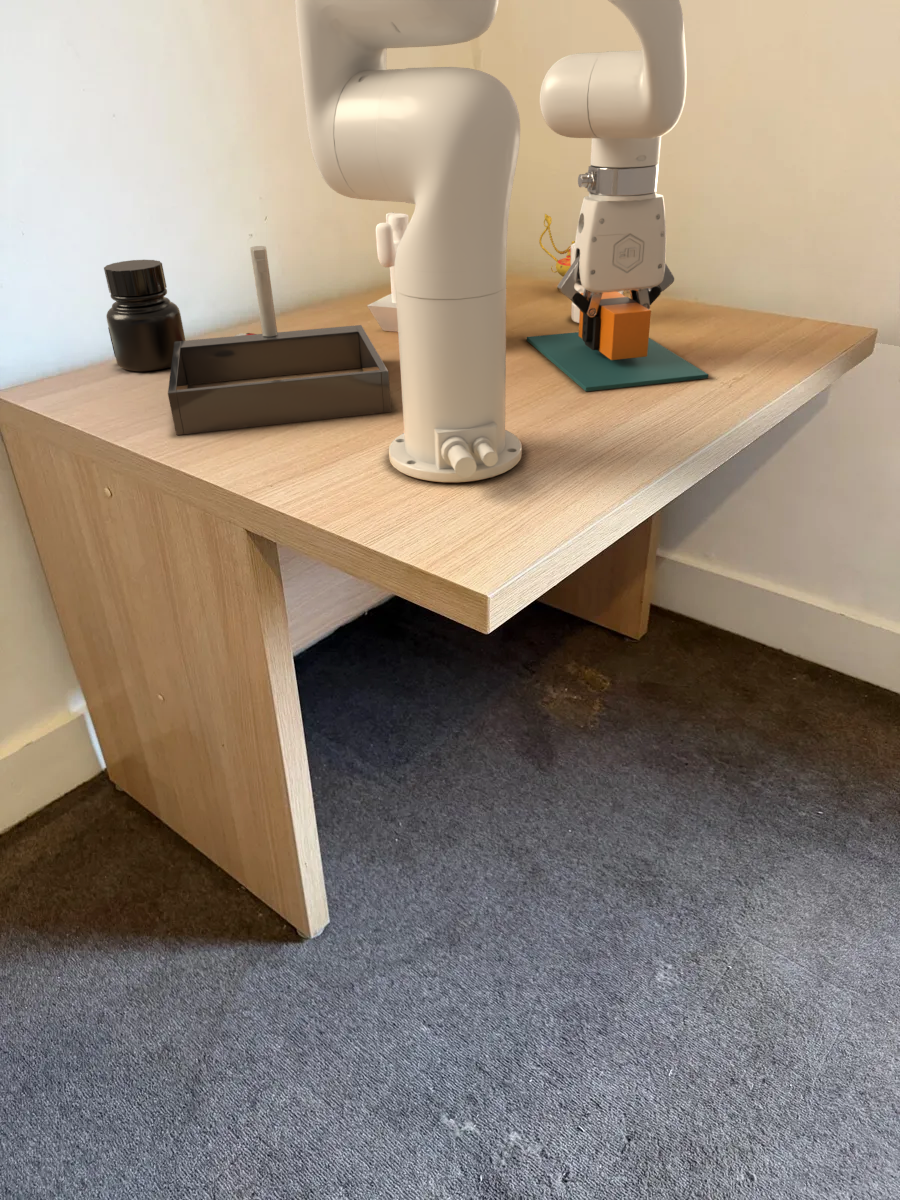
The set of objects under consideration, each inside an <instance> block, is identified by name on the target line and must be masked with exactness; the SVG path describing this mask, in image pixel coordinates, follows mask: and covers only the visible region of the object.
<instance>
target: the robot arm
mask: <svg viewBox="0 0 900 1200" xmlns="http://www.w3.org/2000/svg"><path fill="white" fill-rule="evenodd" d="M607 1H608V2H609V3H611V4H612V5H613V6H614V7H616V8H617V9H618V11H620V12H621V13H622V15H623V16H624V17H625V18H626V19H627V20H628V22H629V23H630V25H631V26H632V29H633V30H634V33H635V34H636V36H637V39H638V41H639V43H640V49H641V50H639V49H638V50H615V51H614V50H613V51H612V50H611V51H603V52H602V51H601V52H580V53H579V52H578V53H572V54H568V55H565V56H563V57H562V58H559V59H558V60H556V61H555V62H554V63H553V64H552V65H551V67H549V69H547V71H546V73H545V75H544V78H543V80H542V82H541V86H540V90H539V107H540V112H541V115H542V118H543V120H544V122H545V124H546V125H547V127H548V128H549V129H550V130H552V131H553V132H554V133H555V134H557V135H559V136H561V137H566V138H573V139H591V147H590V165H589V166H588V171H587V172H585V173H580V174H578V177H577V185H578V187H579V188H585V189H586V190H587V191H586V192H588V195H586V196H584V197H583V199H582V203H581V206H580V211H579V215H578V220H577V225H576V232H575V240H574V241H575V247H574V257H573V264H572V265H571V267H570V268H569V270H568V271H567V272H566V274H565V275H564V277H563V276H562V278H561V280H560V281H559V283H558V284H557V286H556V287H557V288H556V289H557V291H558V292H559V293H561V294H562V295H563V296H564V297H566V298H568V299H569V300H570V301H571V303H572V302H573V303H574V304H575V305H576V306H577V307H578V308H579V309H580V311H581V312H583V326H582V339H583V341H584V342H585V345H586V346H588V347H589V348H590V349H592V350H597V349H599V341H600V325H601V318H600V317H599V316H597V313H598V307H599V304H600V300H601V297H602V294H603V293H604V292H616V291H623V292H625V291H626V292H627V291H629V295H630V299H632V300H634V301H636V302H637V303H639V304H640V305H642V306H644V307H646V308H647V309H649V310H651V306H652V304H653V303H654V302H655V301H656V300H657V299H658V298H659V297H660V295H661V293H662V292H664V291H665V290H666V289H668V288H669V287H670V286H671V285H672V284H673V283H674V282H675V276H674V275H673V273H672V271H671V270H670V268H669V266H668V265H667V263H666V259H667V258H666V253H667V225H666V224H667V221H666V207H665V199H664V195H663V194H659V193H657V189H658V179H659V178H658V177H659V167H660V157H661V146H662V145H661V144H662V137H663V136H665V135H667V134H669V133H670V132H671V131H672V130H673V129H674V127H675V126H676V125H677V124H678V122H679V121H680V118H681V116H682V114H683V110H684V107H685V104H686V95H687V81H688V80H687V77H688V75H687V74H688V73H687V71H688V70H687V69H688V68H687V52H686V36H685V32H686V31H685V21H684V14H683V7H682V4H681V1H680V0H607ZM499 2H500V0H294V9H295V10H294V11H295V19H296V31H297V40H298V41H297V42H298V49H299V59H300V60H299V61H300V70H301V71H300V72H301V79H302V89H303V90H302V92H303V99H304V111H305V119H306V126H307V127H306V129H307V133H308V134H307V135H308V140H309V141H308V142H309V145H310V150H311V154H312V158H313V160H314V164H315V166H316V169H317V171H318V173H319V174H320V176H321V178H322V179H323V181H324V183H325V184H326V185H327V186H329V188H330V189H331V190H333V191H334V192H336V193H337V194H339V195H341V196H344V197H346V198H350V199H357V200H365V201H375V202H376V201H378V202H395V203H405V204H411V205H412V204H413V205H415V206H414V211H413V214H412V215H411V217H410V218H411V219H409V221H408V226H407V228H406V230H405V232H404V234H403V236H402V239H401V241H400V243H399V246H398V249H397V253H396V258H395V290H396V304H397V321H398V332H397V335H398V350H399V351H398V352H399V353H398V355H399V367H400V368H399V369H400V370H399V371H400V387H401V402H402V403H401V404H402V419H403V432H402V433H401V434H400V435H398V436H396V437H395V438H394V439H393V440H392V441H391V443H390V444H389V446H388V459H389V462H390V464H391V466H392V467H393V468H394V469H396V470H397V471H398V472H400V473H401V474H404V475H406V476H409V477H412V478H415V479H418V480H423V481H429V482H437V483H466V482H475V481H481V480H486V479H489V478H494V477H496V476H499V475H502V474H504V473H506V472H508V471H510V470H512V469H513V468H514V467H515V466H517V465H518V464H519V462H520V461H521V459H522V455H523V446H522V442H521V439H520V438H519V437H517V436H516V434H514V433H513V432H510V431H509V430H507V429H506V411H507V410H506V409H507V408H506V407H507V406H506V404H507V403H506V399H507V398H506V397H507V396H506V395H507V394H506V393H507V386H506V385H507V384H506V383H507V250H508V231H509V229H508V228H509V217H510V207H511V199H512V192H513V185H514V181H515V175H516V169H517V163H518V158H519V151H520V144H521V143H520V142H521V120H520V119H521V118H520V113H519V109H518V105H517V103H516V100H515V98H514V96H513V94H512V93H511V91H510V90H509V88H508V87H507V86H506V85H505V84H504V83H503V82H502V81H500V80H499V78H497V77H495V76H493V75H492V74H490V73H487V72H485V71H483V70H479V69H474V68H469V67H457V66H431V67H430V66H429V67H428V66H427V67H407V68H395V69H394V68H393V69H392V68H391V69H390V68H389V69H387V56H388V55H387V54H388V53H387V52H388V49H403V48H404V49H407V48H425V47H427V48H428V47H442V46H452V45H456V44H462V43H467V42H470V41H472V40H473V41H474V40H475V39H478V38H479V37H481V36H482V35H483V34H485V33H486V32H487V31H488V30H489V28H490V27H491V25H492V24H493V22H494V20H495V18H496V15H497V12H498V7H499ZM575 283H576V284H578V285H582V286H583V287H585V289H584V293H583V295H582V294H580V293H579V292H578V291H577V290H575V288H574V285H575Z"/></svg>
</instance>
